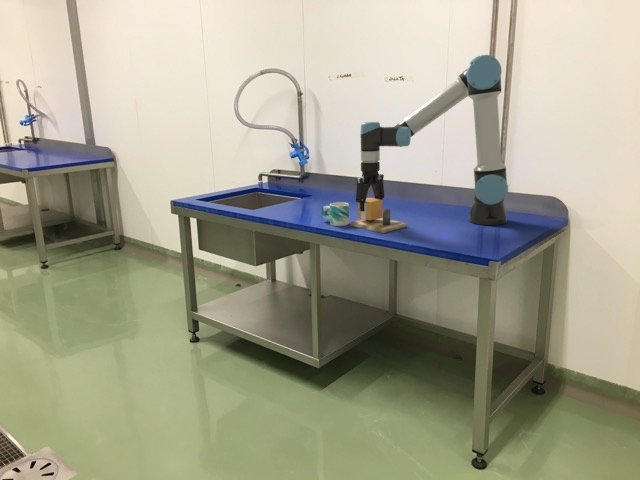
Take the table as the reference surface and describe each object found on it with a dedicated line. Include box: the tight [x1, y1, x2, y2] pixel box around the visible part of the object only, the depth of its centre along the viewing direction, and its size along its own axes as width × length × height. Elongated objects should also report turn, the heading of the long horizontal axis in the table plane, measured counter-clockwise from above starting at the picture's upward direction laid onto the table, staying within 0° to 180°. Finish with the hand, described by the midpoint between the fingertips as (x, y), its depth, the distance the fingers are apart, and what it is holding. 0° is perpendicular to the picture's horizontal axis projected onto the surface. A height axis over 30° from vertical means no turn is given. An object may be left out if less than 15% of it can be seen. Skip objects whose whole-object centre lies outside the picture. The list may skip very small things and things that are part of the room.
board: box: [349, 208, 408, 234], centre depth 216 cm, size 18×14×8 cm
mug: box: [321, 201, 350, 227], centre depth 224 cm, size 8×12×8 cm
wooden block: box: [357, 197, 383, 220], centre depth 219 cm, size 7×7×8 cm
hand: (370, 217), depth 220 cm, fingers closed on wooden block, 7 cm apart
